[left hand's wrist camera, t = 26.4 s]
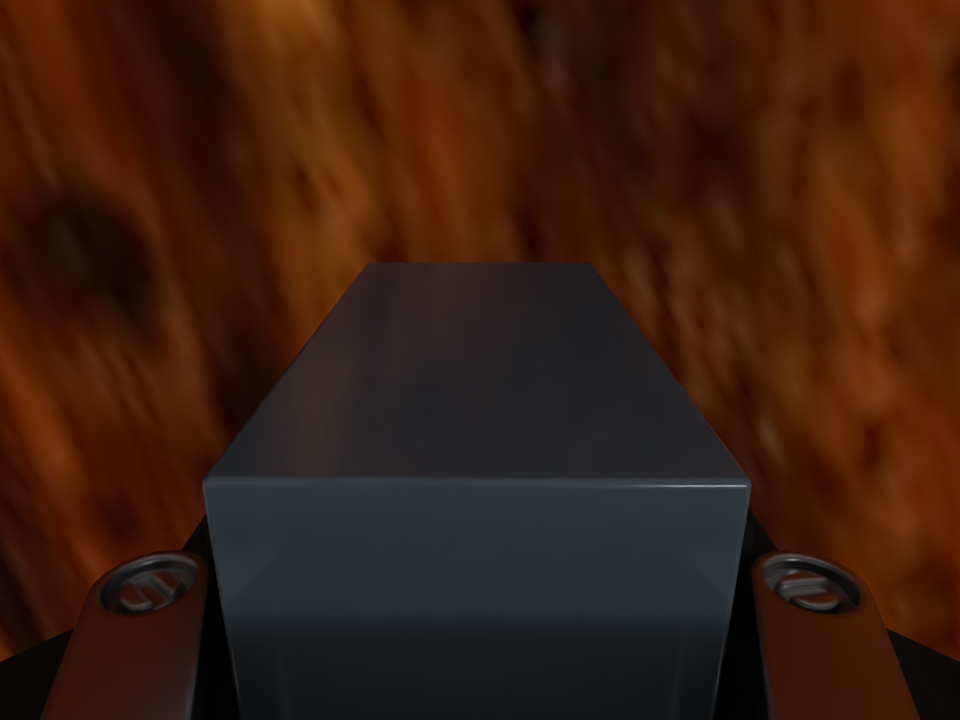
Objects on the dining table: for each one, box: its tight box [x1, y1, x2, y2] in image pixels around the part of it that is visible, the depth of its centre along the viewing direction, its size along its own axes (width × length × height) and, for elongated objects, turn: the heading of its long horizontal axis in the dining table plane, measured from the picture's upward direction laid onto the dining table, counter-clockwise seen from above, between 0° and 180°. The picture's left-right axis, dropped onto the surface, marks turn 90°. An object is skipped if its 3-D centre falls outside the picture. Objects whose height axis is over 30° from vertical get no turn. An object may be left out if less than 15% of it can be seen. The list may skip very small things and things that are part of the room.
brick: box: [202, 263, 752, 720], centre depth 11 cm, size 5×6×9 cm
